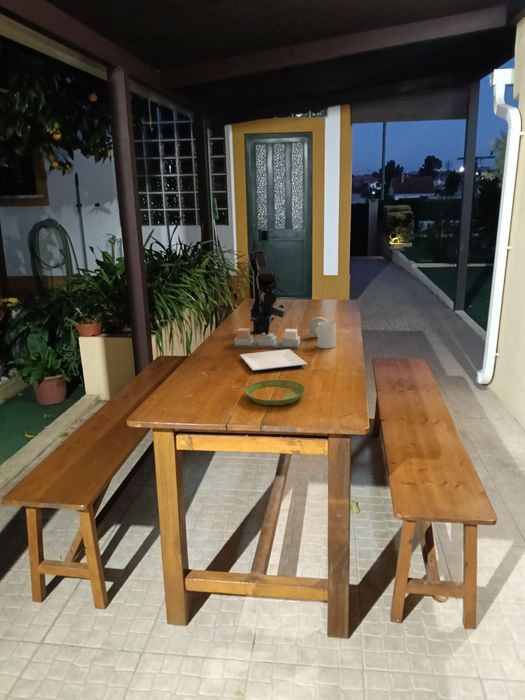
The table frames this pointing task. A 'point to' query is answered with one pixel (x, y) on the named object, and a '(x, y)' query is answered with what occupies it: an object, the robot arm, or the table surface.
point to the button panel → (267, 343)
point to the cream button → (291, 334)
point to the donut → (313, 325)
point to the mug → (326, 334)
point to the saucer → (294, 386)
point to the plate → (272, 359)
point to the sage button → (267, 336)
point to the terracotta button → (243, 333)
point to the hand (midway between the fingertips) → (267, 334)
